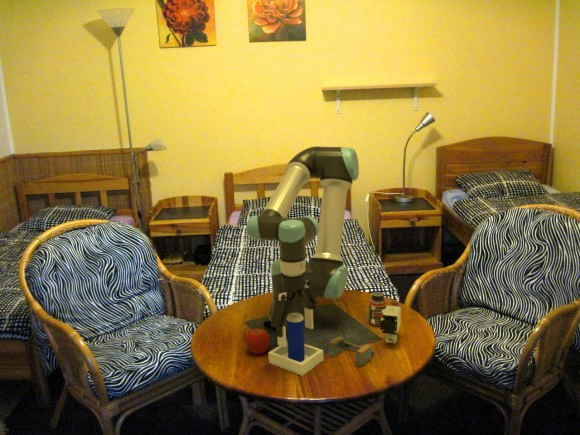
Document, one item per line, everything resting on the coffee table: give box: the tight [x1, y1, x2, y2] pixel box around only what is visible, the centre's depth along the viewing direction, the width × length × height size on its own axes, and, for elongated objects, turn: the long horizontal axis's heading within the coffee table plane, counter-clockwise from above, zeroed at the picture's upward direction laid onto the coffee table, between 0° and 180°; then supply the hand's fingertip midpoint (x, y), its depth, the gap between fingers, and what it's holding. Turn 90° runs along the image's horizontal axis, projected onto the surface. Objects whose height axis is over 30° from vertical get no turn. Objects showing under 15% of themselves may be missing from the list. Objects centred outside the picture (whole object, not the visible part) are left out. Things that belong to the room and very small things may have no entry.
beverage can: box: [286, 313, 305, 363], centre depth 168 cm, size 5×5×15 cm
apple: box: [245, 328, 271, 355], centre depth 176 cm, size 8×8×8 cm
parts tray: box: [267, 340, 324, 377], centre depth 170 cm, size 13×11×4 cm
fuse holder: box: [328, 335, 376, 368], centre depth 172 cm, size 12×8×5 cm, turn 51°
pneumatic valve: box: [379, 304, 402, 344], centre depth 180 cm, size 6×12×12 cm, turn 161°
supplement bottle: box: [368, 291, 387, 327], centre depth 193 cm, size 6×6×11 cm
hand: (296, 336), depth 169 cm, fingers open, 13 cm apart
